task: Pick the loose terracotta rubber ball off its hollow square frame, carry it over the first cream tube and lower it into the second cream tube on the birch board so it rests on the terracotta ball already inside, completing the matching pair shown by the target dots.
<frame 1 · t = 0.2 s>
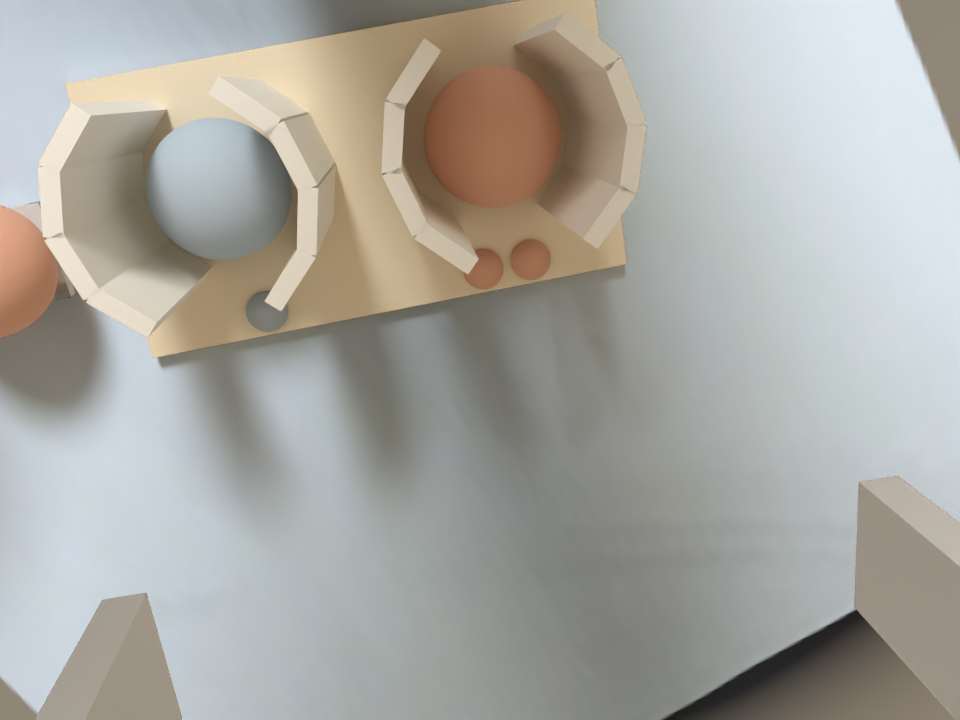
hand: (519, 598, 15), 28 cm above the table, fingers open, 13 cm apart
ball terracotta loose: (10, 258, 39), on the table, touching hollow square frame
tube rack: (364, 178, 40), on the table
ball slate in tube: (232, 182, 38), point 1 cm above the table, touching tube rack
ball terracotta in tube: (484, 134, 39), point 1 cm above the table, touching tube rack
hollow square frame: (13, 256, 39), on the table
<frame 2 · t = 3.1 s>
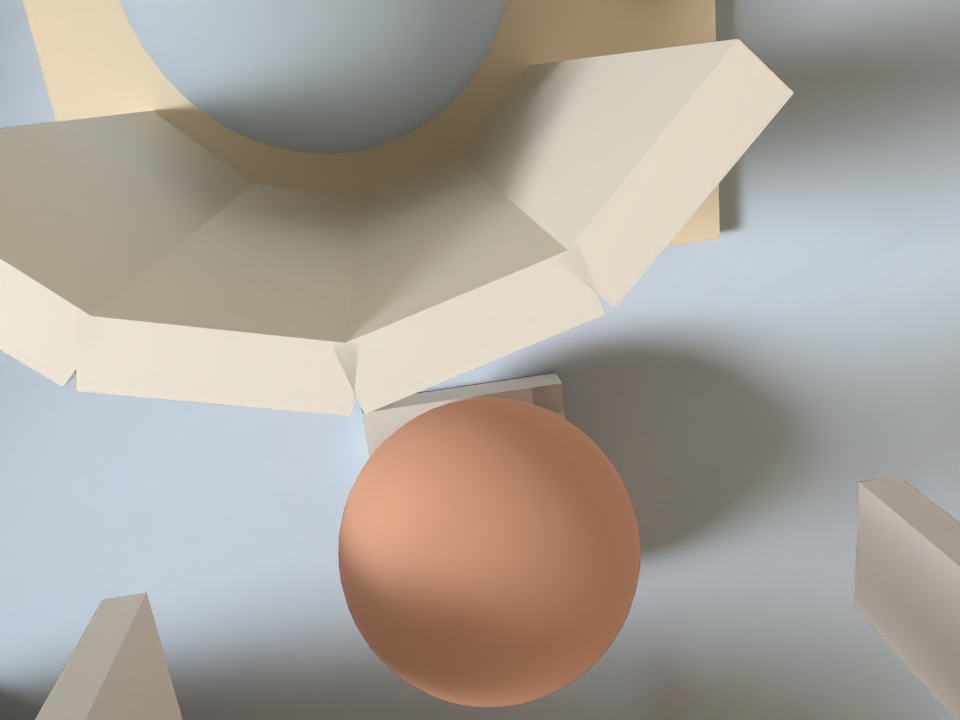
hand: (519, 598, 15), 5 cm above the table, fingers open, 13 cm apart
ball terracotta loose: (472, 479, 19), on the table, touching hollow square frame
hollow square frame: (471, 474, 20), on the table
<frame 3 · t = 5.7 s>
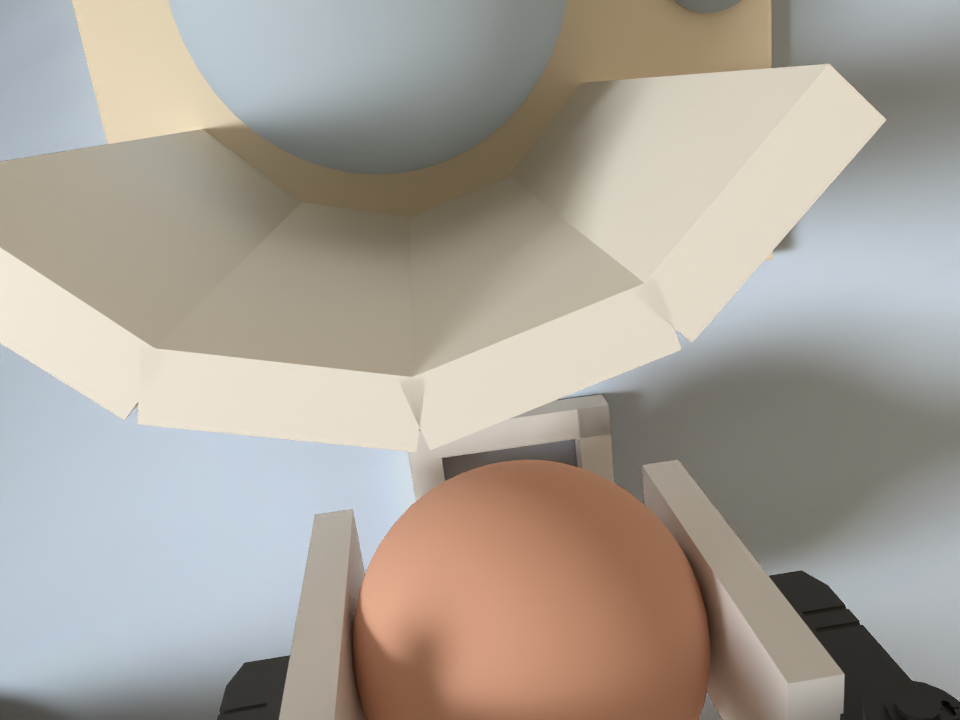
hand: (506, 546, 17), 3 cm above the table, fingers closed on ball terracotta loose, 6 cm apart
ball terracotta loose: (504, 544, 17), point 2 cm above the table, touching gripper
hollow square frame: (514, 496, 19), on the table
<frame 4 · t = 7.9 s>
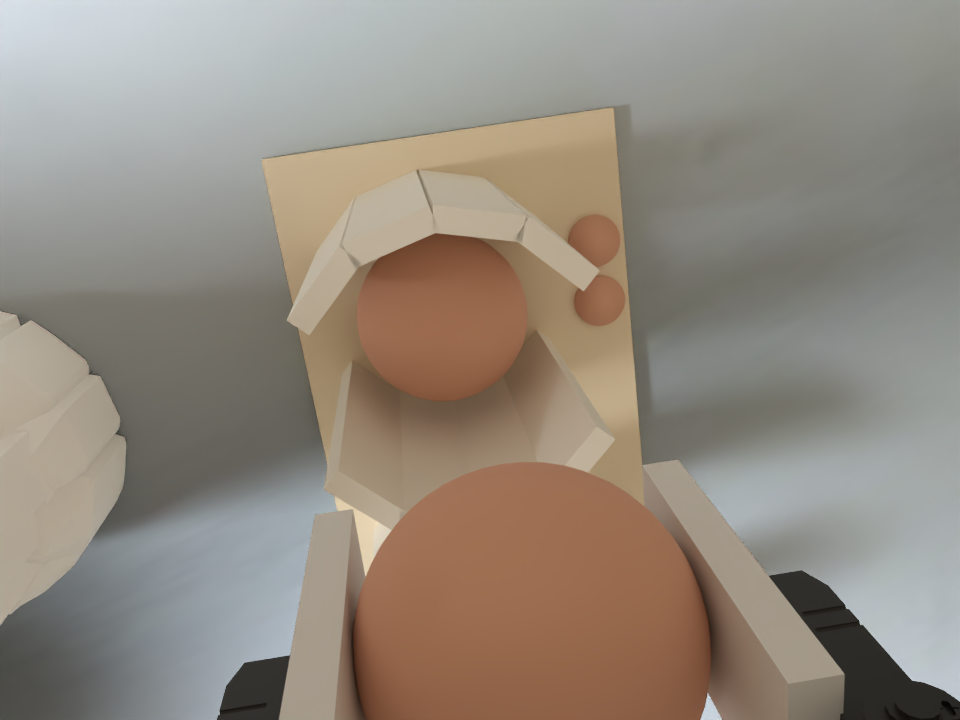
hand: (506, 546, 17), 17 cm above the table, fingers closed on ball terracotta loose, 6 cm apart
ball terracotta loose: (505, 546, 17), point 17 cm above the table, touching gripper
tube rack: (482, 427, 35), on the table
ball terracotta in tube: (437, 296, 32), point 1 cm above the table, touching tube rack
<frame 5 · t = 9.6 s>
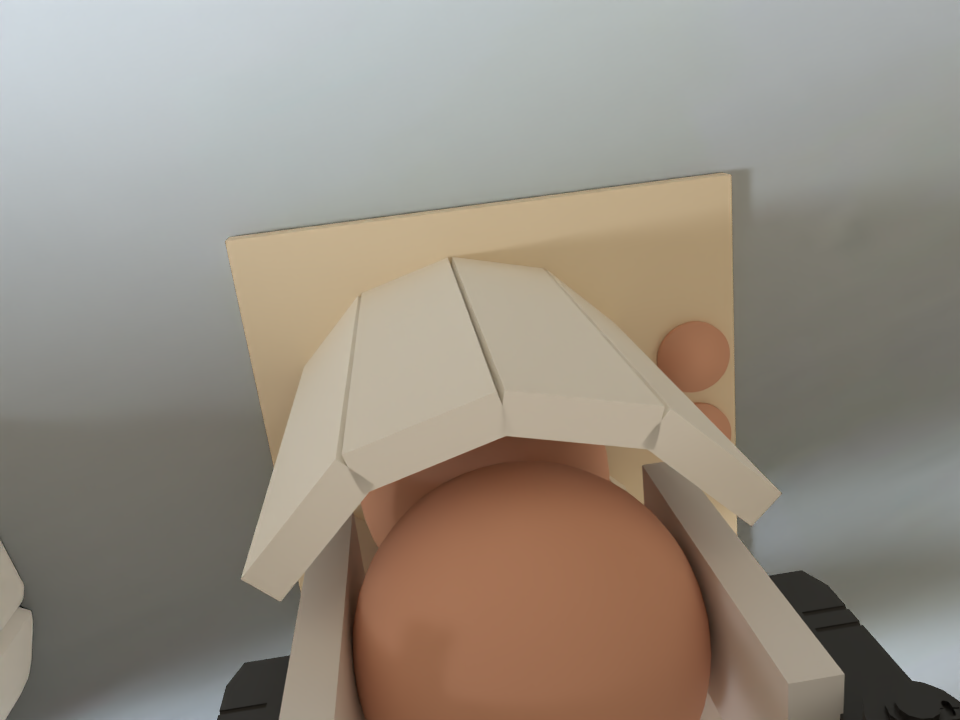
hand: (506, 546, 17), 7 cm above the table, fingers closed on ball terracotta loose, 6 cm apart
ball terracotta loose: (505, 545, 17), point 7 cm above the table, touching gripper
tube rack: (525, 595, 25), on the table
ball terracotta in tube: (471, 429, 23), point 1 cm above the table, touching tube rack
when the fingers open (7 cm above the table, at t = 10.4 s): ball terracotta loose moves 2 cm and tips over, resting on ball terracotta in tube, tube rack.
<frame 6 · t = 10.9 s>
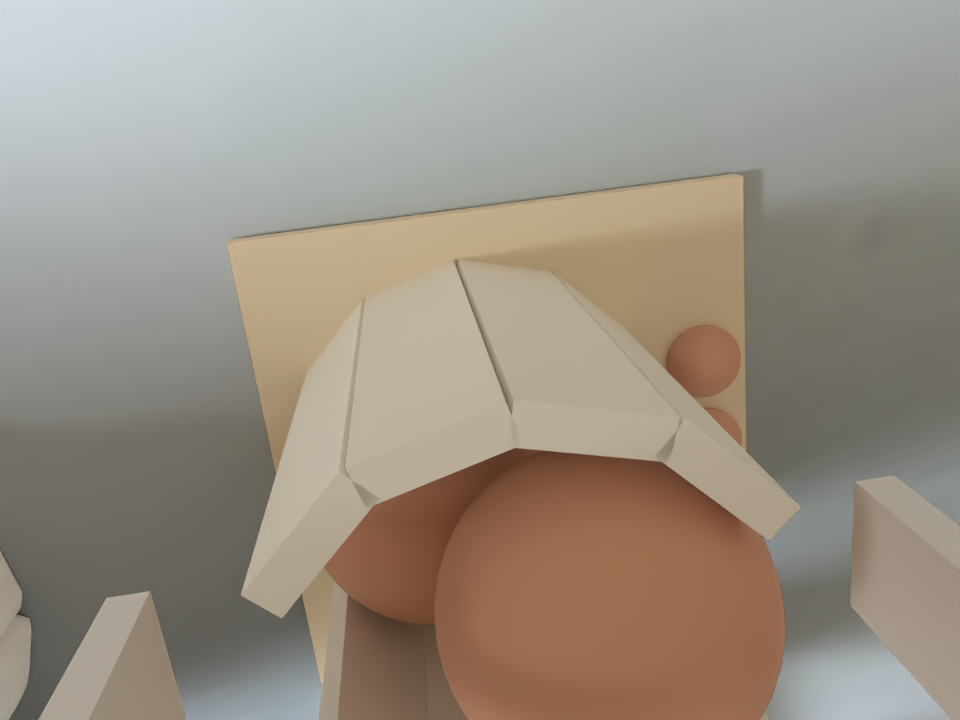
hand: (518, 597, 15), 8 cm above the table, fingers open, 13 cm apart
ball terracotta loose: (436, 609, 15), point 8 cm above the table, tilted 79°, touching ball terracotta in tube, tube rack
tube rack: (531, 603, 25), on the table
ball terracotta in tube: (477, 439, 22), point 1 cm above the table, tilted 26°, touching ball terracotta loose, tube rack
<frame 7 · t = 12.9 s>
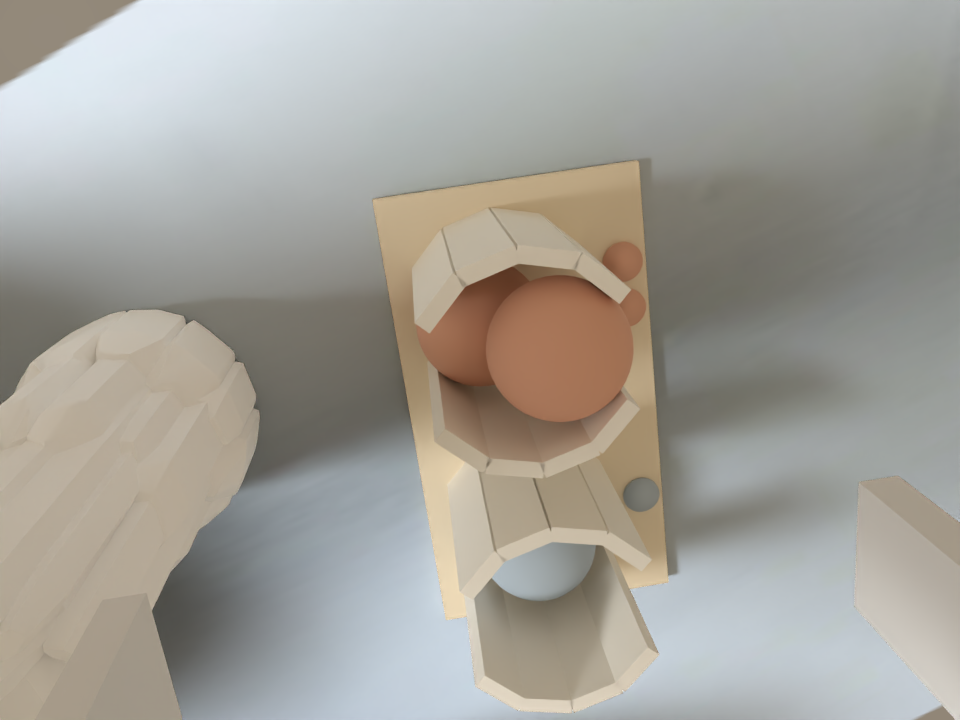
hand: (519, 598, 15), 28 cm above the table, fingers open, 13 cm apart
decorative vase: (153, 409, 43), on the table
ball terracotta loose: (486, 352, 34), point 8 cm above the table, tilted 79°, touching ball terracotta in tube, tube rack
tube rack: (532, 405, 44), on the table
ball slate in tube: (528, 512, 45), point 1 cm above the table, touching tube rack
ball terracotta in tube: (501, 305, 41), point 1 cm above the table, tilted 26°, touching ball terracotta loose, tube rack
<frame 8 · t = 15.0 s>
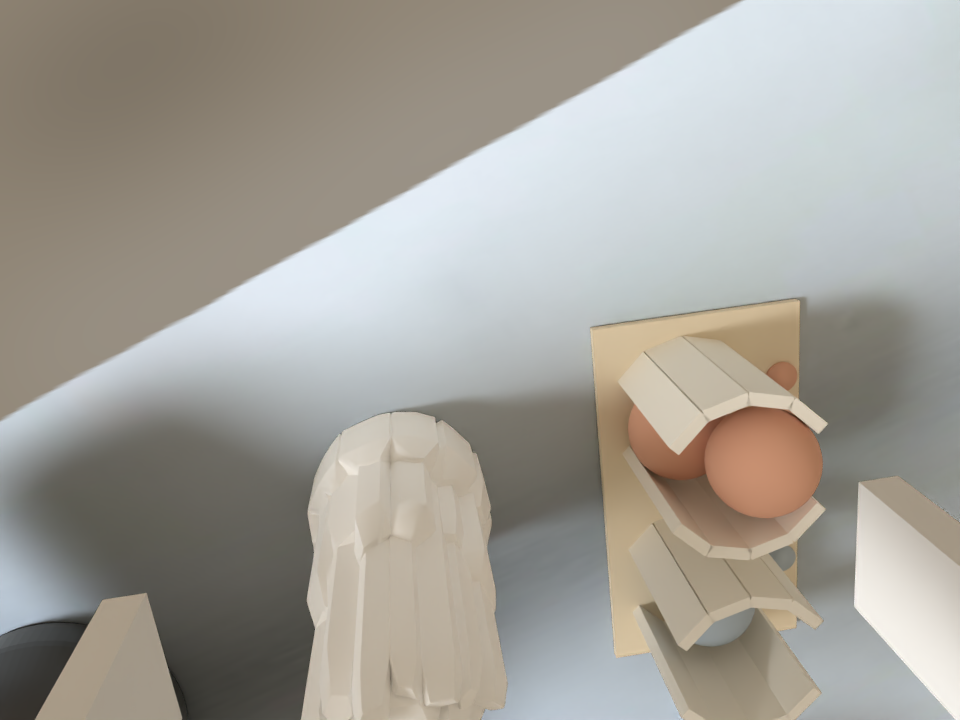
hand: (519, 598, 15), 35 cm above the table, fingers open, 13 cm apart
decorative vase: (399, 488, 53), on the table
ball terracotta loose: (705, 462, 45), point 8 cm above the table, tilted 79°, touching ball terracotta in tube, tube rack
tube rack: (699, 486, 55), on the table
ball slate in tube: (690, 571, 56), point 1 cm above the table, touching tube rack
ball terracotta in tube: (685, 410, 52), point 1 cm above the table, tilted 26°, touching ball terracotta loose, tube rack
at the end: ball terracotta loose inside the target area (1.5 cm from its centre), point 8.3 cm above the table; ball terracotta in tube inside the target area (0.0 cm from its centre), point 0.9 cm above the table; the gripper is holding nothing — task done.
